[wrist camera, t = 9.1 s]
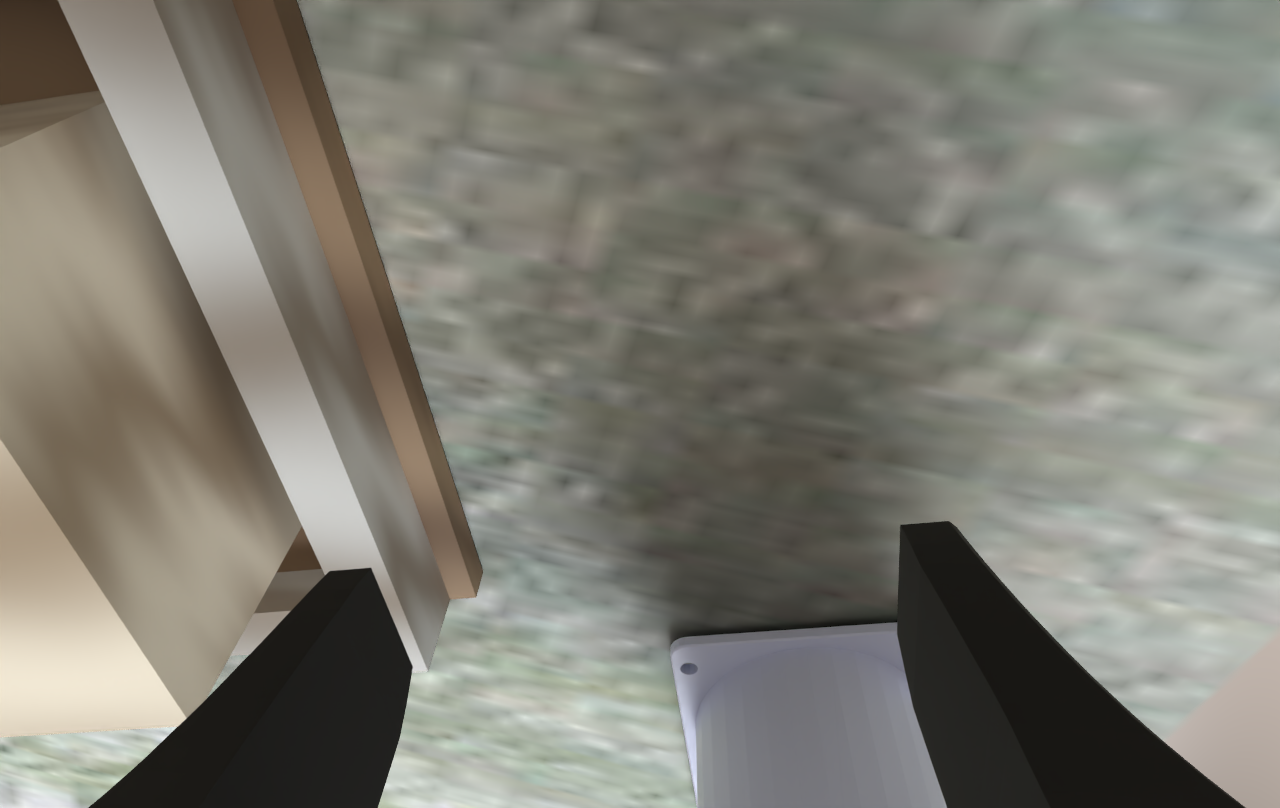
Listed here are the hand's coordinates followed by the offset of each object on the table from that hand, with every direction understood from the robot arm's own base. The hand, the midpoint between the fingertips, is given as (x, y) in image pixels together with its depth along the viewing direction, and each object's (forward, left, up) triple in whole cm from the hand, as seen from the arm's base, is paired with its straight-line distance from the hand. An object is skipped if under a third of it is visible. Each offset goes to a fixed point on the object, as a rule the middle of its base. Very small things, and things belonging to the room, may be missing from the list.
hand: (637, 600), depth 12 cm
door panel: (+1, +11, -8) cm, 14 cm away
